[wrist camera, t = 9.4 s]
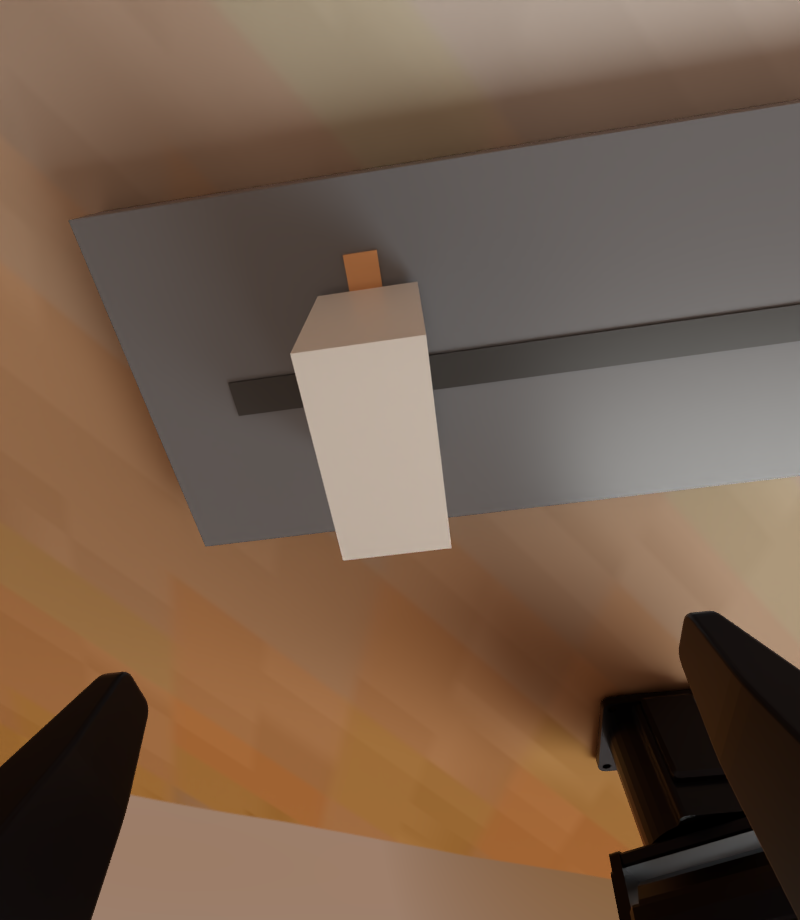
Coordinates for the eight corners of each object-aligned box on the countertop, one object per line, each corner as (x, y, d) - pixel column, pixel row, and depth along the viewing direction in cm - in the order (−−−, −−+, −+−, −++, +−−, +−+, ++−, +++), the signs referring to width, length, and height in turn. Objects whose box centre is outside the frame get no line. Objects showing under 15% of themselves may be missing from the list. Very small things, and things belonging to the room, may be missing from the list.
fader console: (960, 425, 21) (1013, 452, 19) (219, 515, 23) (204, 548, 21) (1126, 46, 15) (1226, 34, 13) (101, 211, 17) (66, 220, 15)
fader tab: (438, 455, 19) (451, 548, 15) (354, 465, 19) (343, 560, 15) (417, 281, 16) (426, 334, 12) (317, 296, 16) (290, 354, 12)
